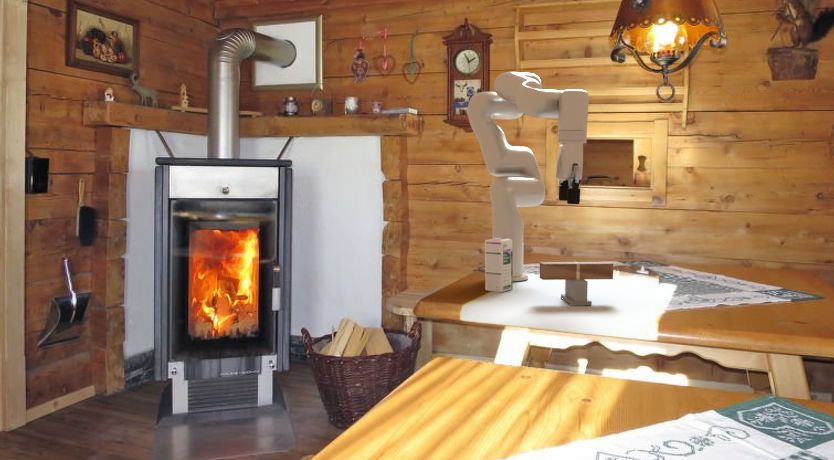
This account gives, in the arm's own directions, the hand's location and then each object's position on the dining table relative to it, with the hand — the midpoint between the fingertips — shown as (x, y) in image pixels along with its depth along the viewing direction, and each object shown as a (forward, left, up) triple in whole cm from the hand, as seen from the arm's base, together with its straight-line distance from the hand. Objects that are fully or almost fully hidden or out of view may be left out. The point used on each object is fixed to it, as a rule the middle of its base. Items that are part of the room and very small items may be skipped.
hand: (568, 202), depth 189 cm
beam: (+10, 0, -19) cm, 21 cm away
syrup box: (-8, -17, -25) cm, 32 cm away
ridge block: (+10, 0, -25) cm, 27 cm away
